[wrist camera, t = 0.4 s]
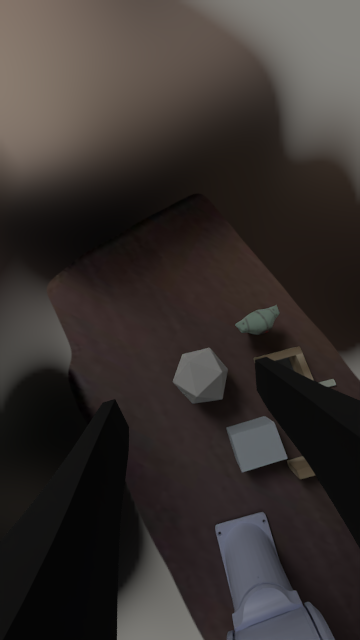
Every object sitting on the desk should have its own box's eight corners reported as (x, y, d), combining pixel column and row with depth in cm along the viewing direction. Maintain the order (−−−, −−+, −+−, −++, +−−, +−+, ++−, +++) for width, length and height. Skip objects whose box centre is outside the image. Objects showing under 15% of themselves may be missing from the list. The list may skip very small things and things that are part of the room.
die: (174, 354, 37) (157, 388, 28) (209, 331, 33) (202, 362, 25) (200, 383, 38) (191, 425, 29) (237, 364, 34) (239, 405, 26)
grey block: (275, 447, 32) (287, 458, 28) (235, 459, 32) (242, 472, 28) (264, 415, 33) (274, 422, 29) (225, 427, 33) (230, 435, 29)
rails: (362, 447, 31) (364, 448, 30) (336, 454, 31) (337, 455, 30) (332, 378, 34) (333, 378, 33) (308, 385, 33) (309, 385, 33)
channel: (337, 455, 31) (352, 465, 28) (289, 468, 31) (300, 479, 28) (292, 347, 35) (301, 345, 32) (251, 358, 35) (256, 357, 32)
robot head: (264, 309, 37) (279, 297, 31) (275, 328, 36) (293, 319, 30) (227, 326, 37) (235, 317, 30) (237, 345, 36) (248, 340, 29)
